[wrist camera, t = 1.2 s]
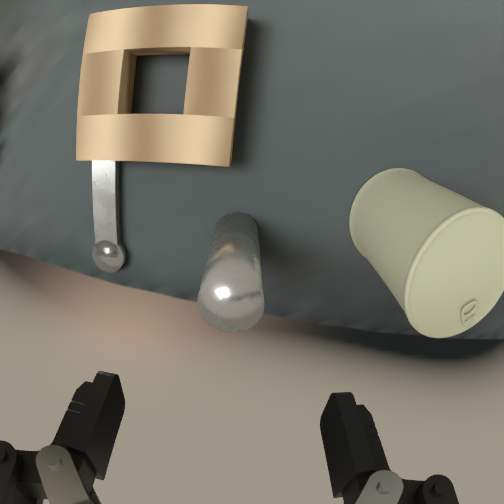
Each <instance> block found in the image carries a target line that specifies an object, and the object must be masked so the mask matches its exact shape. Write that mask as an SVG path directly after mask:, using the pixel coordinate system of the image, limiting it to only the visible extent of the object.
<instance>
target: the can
mask: <svg viewBox="0 0 504 504" xmlns="http://www.w3.org/2000/svg"><path fill="white" fill-rule="evenodd" d="M349 226H350V233H351V237H352V240H353V242H354V244H355V246H356V248H357V249H358V251H359V252H360V253H361V254H362V255H363V256H364V257H365V258H367V259H368V261H369V262H370V263H371V265H372V266H373V267H374V269H375V270H376V271H377V273H378V274H379V275H380V277H381V278H382V280H383V281H384V282H385V284H386V285H387V287H388V288H389V289H390V291H391V292H392V294H393V295H394V297H395V298H396V300H397V301H398V303H399V304H400V306H401V307H402V309H403V310H404V312H405V314H406V316H407V318H408V320H409V322H410V324H411V325H412V326H413V327H414V328H415V329H416V330H417V331H418V332H419V333H421V334H423V335H425V336H428V337H432V338H445V337H451V336H454V335H457V334H459V333H462V332H464V331H466V330H467V329H469V328H471V327H472V326H474V325H475V324H476V323H478V322H479V321H480V320H481V319H482V318H484V316H485V315H486V314H487V313H488V312H489V311H490V310H491V309H492V308H493V307H494V305H495V304H496V302H497V301H498V300H499V298H500V296H501V295H502V293H503V291H504V218H503V217H502V216H501V215H500V214H499V213H497V212H496V211H494V210H492V209H489V208H486V207H483V206H481V205H479V204H477V203H475V202H473V201H471V200H469V199H467V198H465V197H463V196H461V195H459V194H457V193H455V192H453V191H451V190H449V189H447V188H445V187H442V186H440V185H438V184H436V183H434V182H432V181H430V180H428V179H426V178H424V177H423V176H421V175H420V174H418V173H417V172H414V171H412V170H409V169H404V168H393V169H388V170H385V171H382V172H380V173H378V174H376V175H375V176H373V177H372V178H371V179H369V180H368V181H367V182H366V183H365V184H364V185H363V186H362V188H361V189H360V190H359V192H358V194H357V195H356V197H355V199H354V202H353V204H352V207H351V212H350V219H349Z"/></svg>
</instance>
